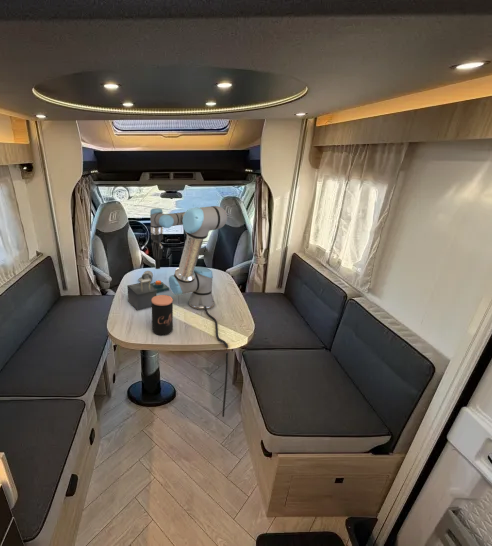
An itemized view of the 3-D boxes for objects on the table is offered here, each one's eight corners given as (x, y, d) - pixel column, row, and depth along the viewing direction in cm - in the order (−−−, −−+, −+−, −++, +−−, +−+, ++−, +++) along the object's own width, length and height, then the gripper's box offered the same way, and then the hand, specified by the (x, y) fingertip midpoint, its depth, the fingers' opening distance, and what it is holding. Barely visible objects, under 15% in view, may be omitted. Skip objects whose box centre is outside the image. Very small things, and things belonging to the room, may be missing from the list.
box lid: (157, 291, 183) (157, 278, 180) (137, 296, 177) (137, 282, 174) (145, 282, 195) (145, 270, 192) (127, 286, 189) (126, 274, 186)
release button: (161, 284, 209) (161, 281, 208) (157, 285, 207) (157, 282, 207) (159, 282, 212) (159, 280, 211) (154, 283, 210) (154, 281, 210)
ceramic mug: (153, 279, 227) (153, 269, 224) (152, 283, 219) (151, 273, 216) (139, 279, 227) (138, 269, 225) (137, 283, 220) (136, 273, 217)
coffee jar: (157, 338, 154) (156, 305, 147) (149, 328, 163) (148, 297, 156) (176, 333, 158) (176, 301, 152) (167, 323, 167) (166, 293, 161)
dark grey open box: (156, 305, 187) (156, 291, 183) (137, 310, 181) (136, 295, 178) (146, 296, 199) (145, 282, 195) (128, 301, 193) (127, 286, 189)
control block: (169, 290, 208) (169, 284, 207) (155, 293, 204) (155, 287, 202) (160, 284, 218) (160, 279, 217) (147, 287, 213) (147, 281, 212)
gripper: (167, 234, 192) (167, 270, 200) (157, 230, 203) (158, 264, 211) (156, 236, 189) (157, 272, 197) (147, 232, 199) (148, 266, 207)
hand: (157, 268), depth 204 cm, fingers closed
